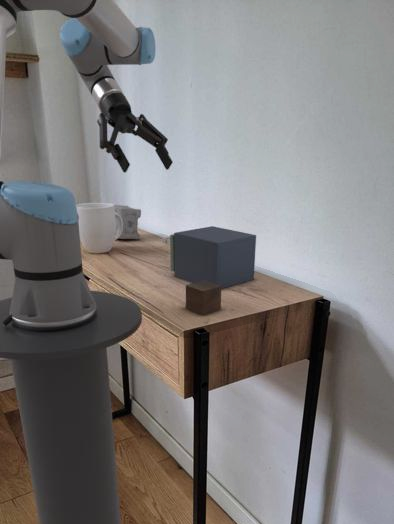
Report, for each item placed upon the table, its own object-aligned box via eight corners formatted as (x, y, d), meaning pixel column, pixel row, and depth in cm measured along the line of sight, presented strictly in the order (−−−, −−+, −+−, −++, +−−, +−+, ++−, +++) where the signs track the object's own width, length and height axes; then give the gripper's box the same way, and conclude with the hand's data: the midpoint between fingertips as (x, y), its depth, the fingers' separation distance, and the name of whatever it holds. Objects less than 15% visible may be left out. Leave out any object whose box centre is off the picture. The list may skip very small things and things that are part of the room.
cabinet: (174, 276, 118) (173, 232, 114) (211, 267, 126) (212, 226, 121) (216, 290, 108) (217, 243, 104) (253, 279, 116) (256, 235, 112)
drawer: (157, 266, 123) (156, 231, 119) (191, 259, 130) (190, 225, 126) (208, 282, 110) (208, 244, 107) (242, 273, 117) (243, 237, 114)
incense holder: (142, 239, 157) (141, 206, 152) (120, 242, 152) (117, 208, 148) (128, 234, 164) (126, 202, 159) (105, 237, 159) (103, 204, 155)
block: (202, 315, 94) (202, 290, 92) (185, 308, 97) (185, 284, 95) (220, 309, 97) (221, 285, 95) (203, 303, 100) (204, 280, 98)
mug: (111, 243, 151) (108, 199, 146) (135, 248, 145) (132, 203, 139) (71, 251, 141) (66, 205, 136) (95, 257, 135) (91, 209, 129)
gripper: (144, 114, 138) (179, 174, 134) (65, 113, 122) (102, 180, 119) (155, 93, 132) (192, 154, 128) (73, 88, 117) (112, 158, 113)
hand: (149, 167), depth 123 cm, fingers open, 13 cm apart
